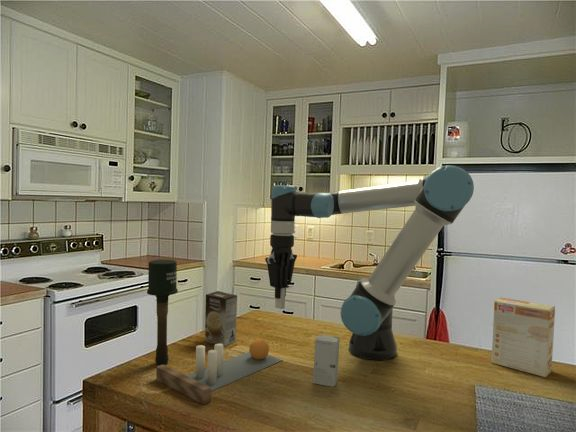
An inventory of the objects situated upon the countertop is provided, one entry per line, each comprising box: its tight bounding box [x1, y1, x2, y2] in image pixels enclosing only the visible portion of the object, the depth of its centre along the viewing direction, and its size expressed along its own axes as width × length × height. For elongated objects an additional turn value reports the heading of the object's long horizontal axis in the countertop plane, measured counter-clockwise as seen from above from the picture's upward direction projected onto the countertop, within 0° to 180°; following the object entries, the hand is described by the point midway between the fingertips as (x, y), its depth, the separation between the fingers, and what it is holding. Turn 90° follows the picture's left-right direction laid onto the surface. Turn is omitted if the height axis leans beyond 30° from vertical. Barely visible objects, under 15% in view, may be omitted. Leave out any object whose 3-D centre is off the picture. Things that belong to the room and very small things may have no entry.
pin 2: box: [207, 349, 217, 385], centre depth 113 cm, size 2×2×8 cm
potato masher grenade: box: [146, 259, 179, 366], centre depth 124 cm, size 8×9×30 cm
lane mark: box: [186, 351, 283, 392], centre depth 122 cm, size 12×29×1 cm, turn 140°
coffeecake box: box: [491, 297, 556, 378], centre depth 129 cm, size 15×7×20 cm, turn 47°
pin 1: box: [195, 344, 206, 379], centre depth 116 cm, size 2×2×8 cm
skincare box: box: [312, 334, 341, 388], centre depth 115 cm, size 6×4×12 cm
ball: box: [248, 338, 270, 360], centre depth 130 cm, size 6×6×6 cm
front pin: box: [213, 344, 224, 377], centre depth 118 cm, size 2×2×8 cm
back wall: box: [155, 365, 212, 406], centre depth 109 cm, size 20×2×4 cm, turn 50°
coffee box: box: [204, 290, 238, 348], centre depth 144 cm, size 9×6×16 cm
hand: (279, 307), depth 137 cm, fingers closed
